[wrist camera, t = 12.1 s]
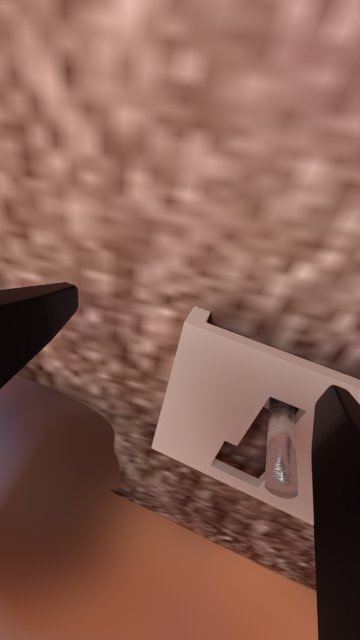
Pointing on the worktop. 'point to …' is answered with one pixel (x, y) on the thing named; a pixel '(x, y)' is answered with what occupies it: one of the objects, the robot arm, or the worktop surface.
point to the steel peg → (281, 450)
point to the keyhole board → (239, 404)
